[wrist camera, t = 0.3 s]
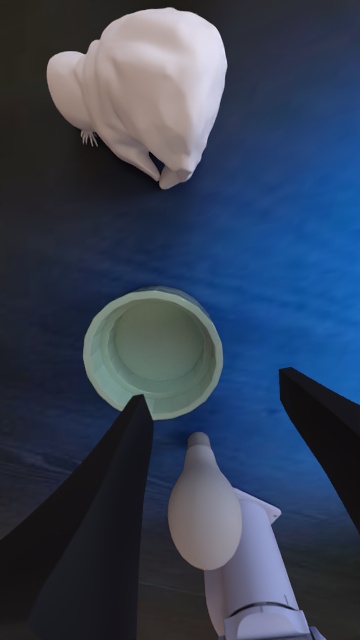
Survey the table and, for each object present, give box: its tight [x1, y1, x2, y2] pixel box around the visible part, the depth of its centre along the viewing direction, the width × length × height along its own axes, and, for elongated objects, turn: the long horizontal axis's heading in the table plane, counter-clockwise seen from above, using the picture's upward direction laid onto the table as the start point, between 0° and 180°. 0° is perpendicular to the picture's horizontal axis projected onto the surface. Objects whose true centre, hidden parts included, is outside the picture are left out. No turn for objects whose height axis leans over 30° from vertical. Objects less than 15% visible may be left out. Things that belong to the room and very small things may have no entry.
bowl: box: [83, 286, 223, 420], centre depth 19 cm, size 12×12×5 cm
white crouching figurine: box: [47, 8, 227, 189], centre depth 13 cm, size 6×8×12 cm
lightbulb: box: [168, 432, 242, 570], centre depth 19 cm, size 6×6×11 cm
